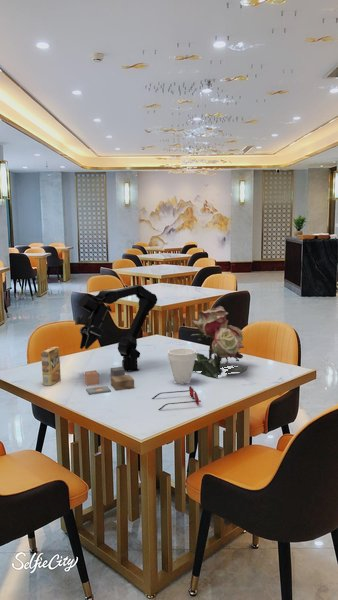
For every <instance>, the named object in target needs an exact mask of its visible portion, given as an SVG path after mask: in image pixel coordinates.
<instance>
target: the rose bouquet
mask: <svg viewBox="0 0 338 600" xmlns="http://www.w3.org/2000/svg"><path fill="white" fill-rule="evenodd" d="M227 315H229V312H227V311H226V310H225V308H224V307H223V306H221V305H217V307H211V308H209V309H207V310H205V311H199V312H198V316H199V317H200V318H199V320H191V322H193V323H194V325H195V327H196V328H197V329H198V330H199V332H201V333H193V334H191V335H190V337H205V339H210V345H209V348H208V357H207V356H205V354H202V353H199V352H196V359H195V362H194V366H193V371H202V372H201V373H200V374H201V375H204V376H207V377H213V378H216V379H219V378H218V375H219V374H220V372H221V370H220V368H222V367H223V368H224V367H227V366H230V365H231V364H230V363H229V361H228V360H229V358H230V359H232V358H233V359H235V361H236V362H240V360H239V359H243V358H244V356H243V354H242V353H241V352H239V350H240V349H242V348H243V349H244V348H245V347H244V344H243V341H244V336H243V332H244V331H243V330H241V329H240V327H237V326H234V325H231V324H229V325H228V323H229V320H228V319H226V318H227ZM178 341H179V342H180V339H179V340H178ZM197 341H202V338H198V339H197ZM212 355H214V356H212ZM224 358H225V359H226V362H224V363H222V360H223V359H224ZM234 366H235V365H234ZM234 366H233V367H234ZM237 366H238V367H234V368H231V369H228V368H224V369H228V371H226V372H225V373H227V374H228V373H231V372H241V373H242V372H244V371H245V370H246V369H248V367H247V366H243V367H242V366H241V365H237ZM219 371H220V372H219ZM228 375H229V374H228Z"/></svg>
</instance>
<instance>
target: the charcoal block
mask: <svg viewBox="0 0 338 600" xmlns="http://www.w3.org/2000/svg"><path fill="white" fill-rule="evenodd" d="M125 372H126V371H125V370H124V369H123V368H122V366H116V367H110V378H111V377H113V376H122V375H125V374H126V373H125Z"/></svg>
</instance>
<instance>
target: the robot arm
mask: <svg viewBox="0 0 338 600" xmlns="http://www.w3.org/2000/svg"><path fill="white" fill-rule="evenodd" d="M131 296H135V297H136V298H137V299H138V310H137V312H136V314H135V316H134V317H133V318H134V319H133V320H132V323H131V324H130V325H131V326H130V328H129V330H128V332H127V334H126V335H125V336H121V337H120V339H119V342H118V343H117V350H118V351H117V352H118V353H119V355H120V356H121V357H122V360H121V367H122V368H123V369H124V372H126V373H127V372H134V371H135V372H136V371H139V370H140V369H139V368H138V359H139V358H140V356H141V352H139V350H138V349H137V346H138V342H137V341H138V337H139V335H140V332H141V330H142V328H143V326H144V323H145V321H146V318H147V316H148V315H149V312H151V311H152V310H153V309H154V307H155V306H156V304H157V303H158V296H157V295H156V294H155V293H152V292H151V291H149V289H146V288H145V287H144V286H143V285H141V284H140V285H139V284H134V285H131V286H127V287H124V288H119V289H114V290H113V289H112V290H111V289H109V290H107V289H105V290H103V289H102V290H100V291H99V292H98V294H97V295H94V296H93V295H92V294H91V293H85V295H83V296H82V297H81V298H80V299H79V302H78V305H79V306H78V307H80V308H82V309H84V310H85V311H87V312H88V313H91V315H90V316H89V315H88V317H87V315H85V314H84V315H83V314H82V315H80V316H77V317H75V320H74V321H75V323H74V324H75V325H76V326H80V325H81V327H80V328H79V334H80V335H81V341H80V345H79V349H81V350H83V349H85V350H88V349H89V348H90V347H91V346H92V345H93V344H94V343H96V341H98V340H99V339H100V338H101V337H102V336H103V334H104V330H103V329H102V328H101V326H102V324H104V322H105V321H104V319H105V317H106V314H107V312H109V313H110V312H113V310H112V308H111V304H114V303H116V302H118V300H121V299H123V298H128V297H131ZM106 304H107V305H106Z"/></svg>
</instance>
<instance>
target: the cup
mask: <svg viewBox="0 0 338 600" xmlns="http://www.w3.org/2000/svg"><path fill="white" fill-rule="evenodd" d="M196 354H197V351H196V350H195V349H193V348H189V347H177V348H176V347H175V348H172V349H169V350H167V358H168V361H169V366H170V369H171V373H172V378H173V381H175V382H176V383H175V382H174V383H175V384H177V383H187V384H189V383H191V379H192V375H193V372H192V371H193V366H194V362H195V360H197V357H196ZM188 382H189V383H188Z"/></svg>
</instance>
